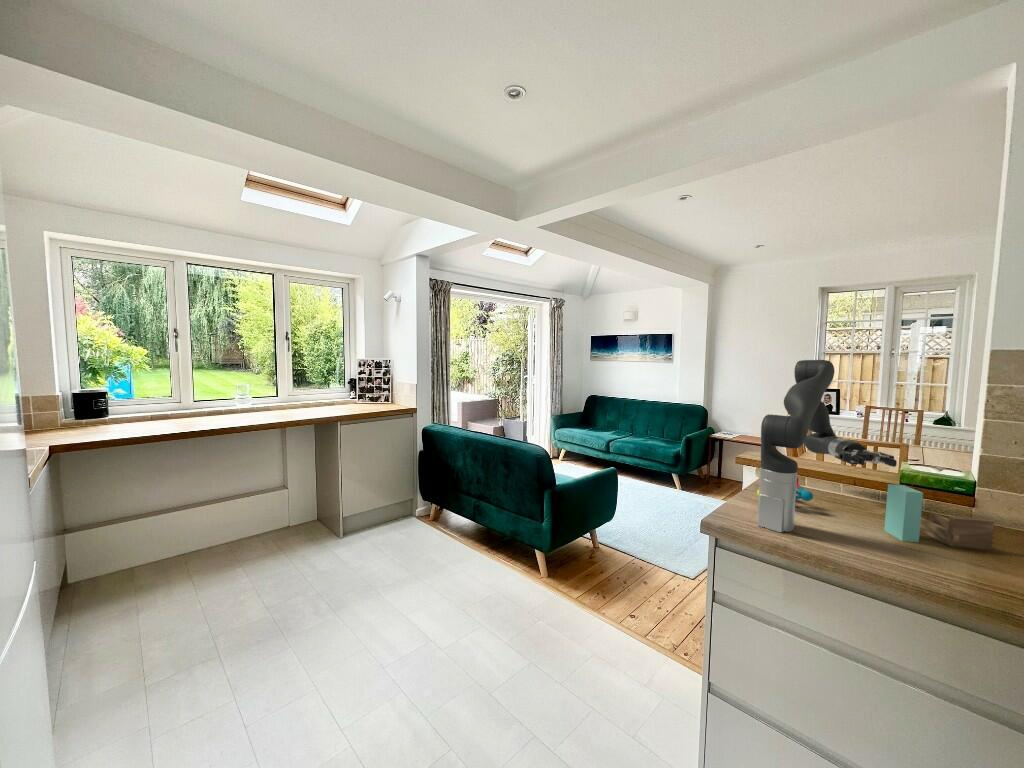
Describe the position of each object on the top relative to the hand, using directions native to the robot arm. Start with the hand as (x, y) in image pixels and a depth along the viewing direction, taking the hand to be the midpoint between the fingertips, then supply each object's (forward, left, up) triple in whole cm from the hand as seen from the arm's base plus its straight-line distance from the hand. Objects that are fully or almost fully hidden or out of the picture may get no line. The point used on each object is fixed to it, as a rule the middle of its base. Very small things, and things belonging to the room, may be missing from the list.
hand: (879, 462), depth 127 cm
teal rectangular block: (-9, -7, -19) cm, 22 cm away
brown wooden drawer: (+3, -15, -18) cm, 24 cm away
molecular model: (-7, +24, -19) cm, 31 cm away
